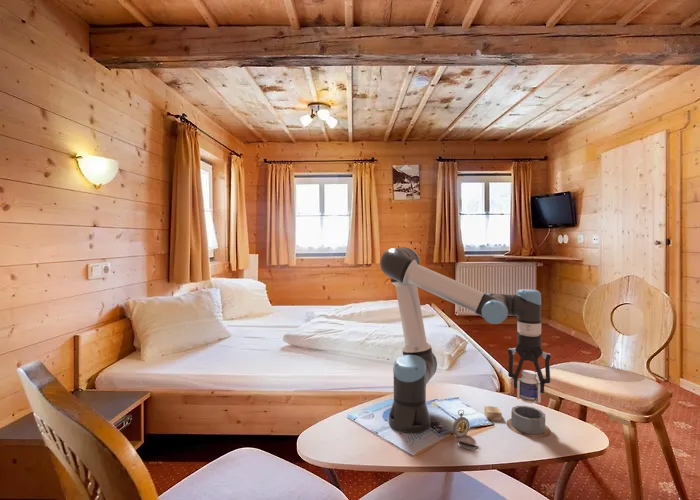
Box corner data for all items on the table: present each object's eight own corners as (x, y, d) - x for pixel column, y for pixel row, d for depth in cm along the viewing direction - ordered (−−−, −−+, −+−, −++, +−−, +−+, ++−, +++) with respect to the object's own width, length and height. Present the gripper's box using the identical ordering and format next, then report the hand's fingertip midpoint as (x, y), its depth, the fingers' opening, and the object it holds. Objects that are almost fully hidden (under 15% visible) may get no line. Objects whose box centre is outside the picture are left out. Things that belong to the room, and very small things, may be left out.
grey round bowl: (510, 429, 126) (510, 415, 125) (513, 417, 135) (513, 403, 135) (544, 438, 120) (544, 422, 120) (545, 424, 129) (545, 409, 129)
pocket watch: (476, 453, 114) (476, 421, 114) (450, 445, 118) (450, 414, 118) (482, 440, 121) (482, 411, 121) (457, 433, 125) (457, 405, 125)
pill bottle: (540, 404, 124) (540, 375, 124) (522, 403, 125) (522, 374, 125) (535, 397, 129) (535, 369, 129) (518, 396, 131) (518, 368, 130)
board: (503, 434, 125) (503, 430, 125) (508, 417, 137) (509, 414, 137) (550, 445, 118) (550, 442, 118) (551, 426, 130) (551, 423, 130)
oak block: (487, 422, 133) (487, 412, 133) (484, 416, 138) (484, 406, 138) (501, 423, 132) (501, 413, 132) (498, 417, 137) (498, 406, 137)
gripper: (498, 332, 128) (498, 397, 129) (559, 339, 119) (559, 409, 119) (501, 328, 135) (501, 390, 135) (560, 334, 125) (559, 401, 126)
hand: (528, 399), depth 127 cm, fingers closed on pill bottle, 6 cm apart
